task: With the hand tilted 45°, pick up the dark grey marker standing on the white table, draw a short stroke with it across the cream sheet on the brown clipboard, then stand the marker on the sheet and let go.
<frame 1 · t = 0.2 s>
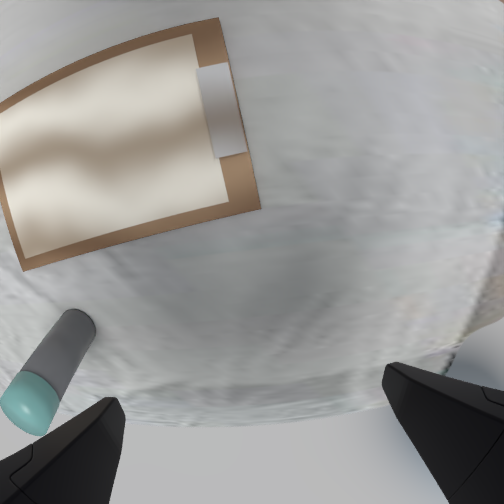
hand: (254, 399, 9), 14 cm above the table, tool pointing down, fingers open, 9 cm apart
marker: (77, 327, 23), on the table
clipboard: (98, 147, 19), on the table
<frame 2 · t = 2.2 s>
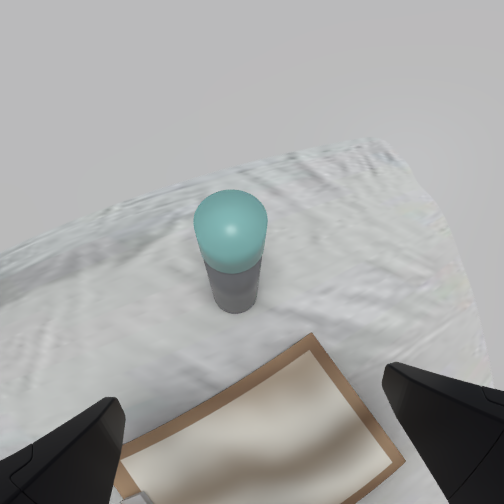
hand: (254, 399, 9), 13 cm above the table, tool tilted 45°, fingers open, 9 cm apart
marker: (235, 292, 25), on the table
clipboard: (253, 477, 18), on the table
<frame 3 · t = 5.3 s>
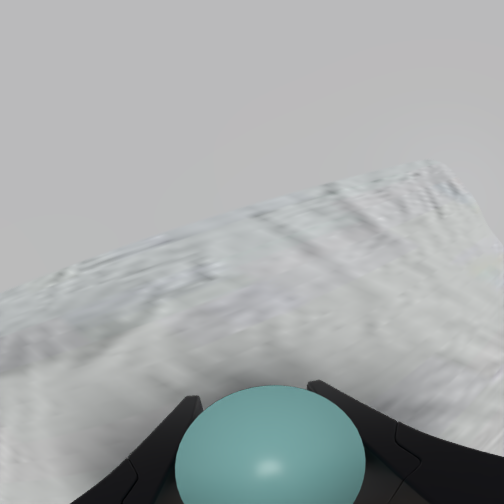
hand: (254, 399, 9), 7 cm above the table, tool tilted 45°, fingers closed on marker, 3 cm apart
marker: (253, 421, 14), on the table, touching gripper
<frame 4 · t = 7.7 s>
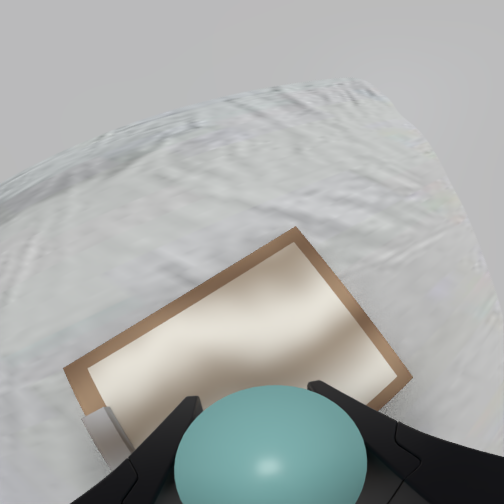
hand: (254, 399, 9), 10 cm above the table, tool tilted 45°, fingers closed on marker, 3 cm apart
marker: (253, 422, 14), point 4 cm above the table, touching gripper
clipboard: (234, 388, 18), on the table
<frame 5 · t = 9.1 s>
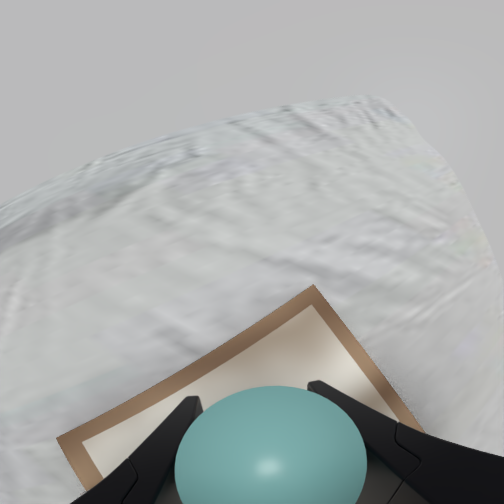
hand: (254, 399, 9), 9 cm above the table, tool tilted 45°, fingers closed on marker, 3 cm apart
marker: (253, 422, 14), point 2 cm above the table, touching gripper
clipboard: (244, 468, 15), on the table
when the fingers open (8 cm above the table, at t = 10.2 s): marker stays where it is, resting on clipboard.
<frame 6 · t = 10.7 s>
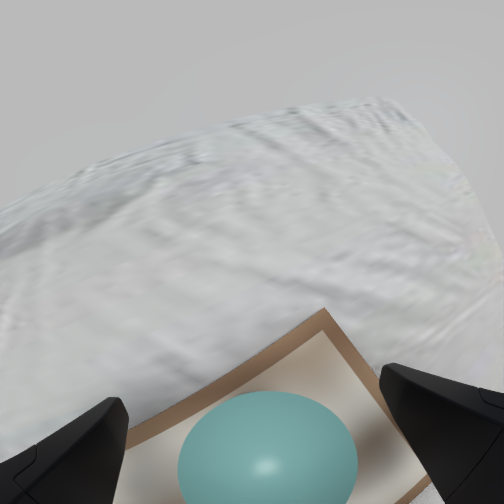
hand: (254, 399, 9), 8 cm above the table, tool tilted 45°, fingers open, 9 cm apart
marker: (253, 421, 15), point 1 cm above the table, touching clipboard
clipboard: (249, 498, 13), on the table
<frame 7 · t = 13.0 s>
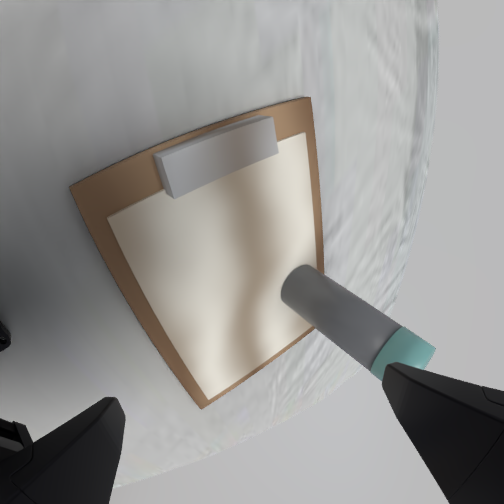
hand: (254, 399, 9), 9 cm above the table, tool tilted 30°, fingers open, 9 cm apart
marker: (298, 285, 23), point 1 cm above the table, touching clipboard
clipboard: (242, 279, 20), on the table
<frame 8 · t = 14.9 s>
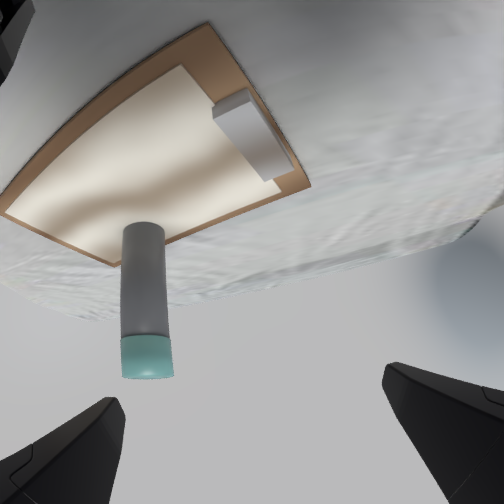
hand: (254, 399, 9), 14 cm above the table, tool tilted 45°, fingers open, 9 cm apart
marker: (143, 233, 24), point 1 cm above the table, touching clipboard
clipboard: (136, 188, 20), on the table
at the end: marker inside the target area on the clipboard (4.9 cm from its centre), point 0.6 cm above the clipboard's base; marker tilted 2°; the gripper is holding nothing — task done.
